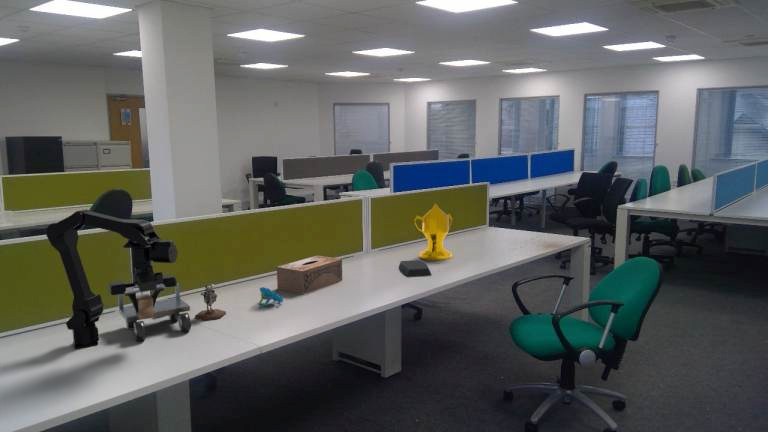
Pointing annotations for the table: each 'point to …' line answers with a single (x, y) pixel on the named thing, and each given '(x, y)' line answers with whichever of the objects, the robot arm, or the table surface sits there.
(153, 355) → the table surface
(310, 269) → the tissue box cover
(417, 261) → the external hard drive
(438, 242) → the trophy cup
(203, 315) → the robot figurine
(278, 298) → the blue irregular piece
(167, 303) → the trolley
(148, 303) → the block
